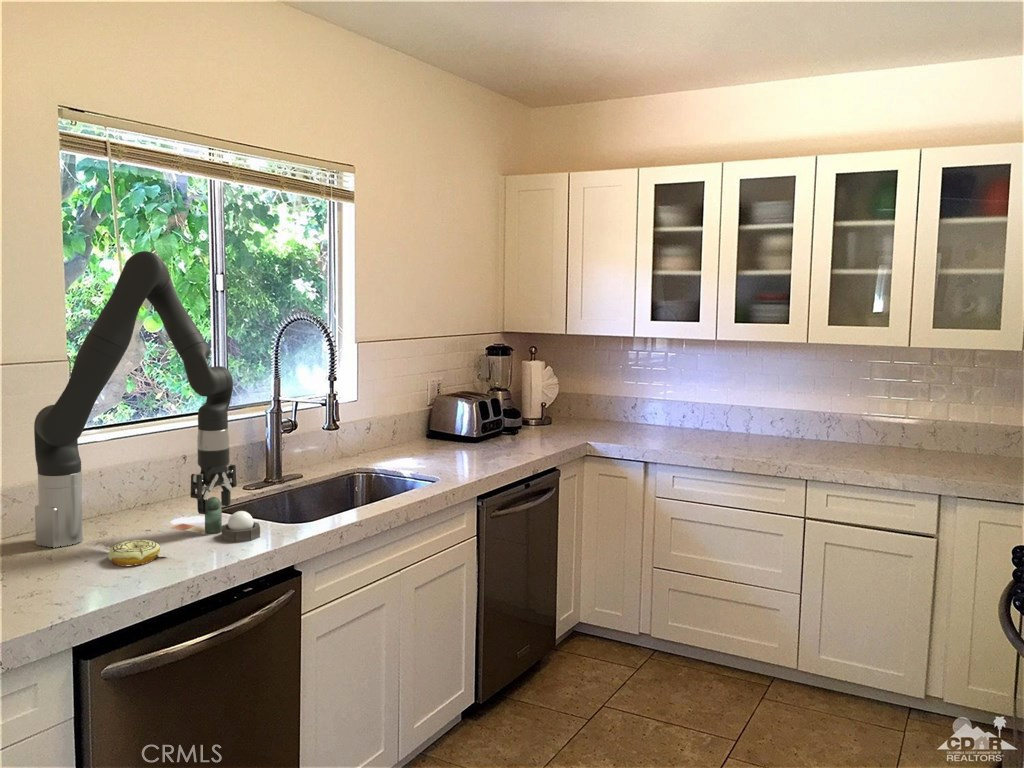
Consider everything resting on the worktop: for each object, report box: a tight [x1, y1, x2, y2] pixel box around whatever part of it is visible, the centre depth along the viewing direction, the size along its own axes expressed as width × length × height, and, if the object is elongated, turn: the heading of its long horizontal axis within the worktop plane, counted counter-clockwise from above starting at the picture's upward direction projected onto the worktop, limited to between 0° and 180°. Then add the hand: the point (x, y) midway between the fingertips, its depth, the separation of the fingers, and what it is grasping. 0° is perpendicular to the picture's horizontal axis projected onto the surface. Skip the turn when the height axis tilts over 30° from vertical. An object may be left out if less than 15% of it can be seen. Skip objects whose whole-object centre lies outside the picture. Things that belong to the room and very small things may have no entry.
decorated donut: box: [107, 539, 161, 566], centre depth 190 cm, size 10×11×4 cm
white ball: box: [227, 510, 254, 531], centre depth 206 cm, size 6×6×6 cm
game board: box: [170, 521, 261, 543], centre depth 209 cm, size 10×25×4 cm, turn 69°
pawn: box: [204, 496, 223, 535], centre depth 209 cm, size 4×4×9 cm
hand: (214, 509), depth 210 cm, fingers open, 8 cm apart
